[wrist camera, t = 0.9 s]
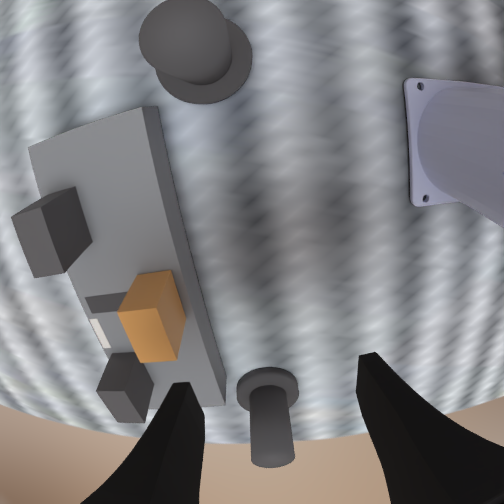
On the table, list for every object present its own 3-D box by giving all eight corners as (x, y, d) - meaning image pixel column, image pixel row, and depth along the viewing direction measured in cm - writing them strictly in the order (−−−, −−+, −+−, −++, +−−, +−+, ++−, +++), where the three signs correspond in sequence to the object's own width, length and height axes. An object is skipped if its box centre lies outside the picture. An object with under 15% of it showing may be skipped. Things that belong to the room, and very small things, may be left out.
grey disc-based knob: (243, 12, 14) (244, -39, 8) (258, 95, 16) (268, 87, 10) (153, 31, 14) (105, -5, 8) (167, 112, 16) (124, 118, 10)
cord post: (295, 362, 24) (308, 436, 18) (299, 401, 26) (310, 468, 20) (231, 371, 24) (229, 446, 18) (242, 408, 26) (243, 475, 20)
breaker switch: (170, 269, 17) (156, 307, 14) (186, 318, 18) (176, 360, 15) (136, 274, 17) (116, 312, 14) (154, 321, 18) (140, 362, 15)
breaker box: (157, 106, 16) (113, 108, 10) (226, 376, 25) (223, 444, 19) (54, 139, 16) (-12, 160, 10) (145, 382, 25) (129, 444, 19)
